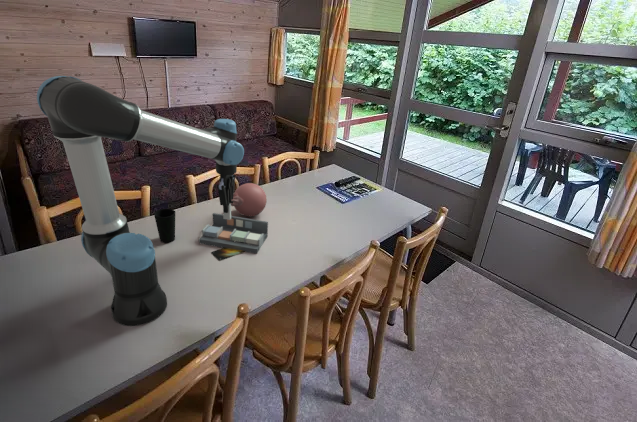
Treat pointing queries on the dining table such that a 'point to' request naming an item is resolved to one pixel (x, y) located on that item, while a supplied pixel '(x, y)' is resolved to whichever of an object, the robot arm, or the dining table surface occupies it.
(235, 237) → the key sage
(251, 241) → the key cream
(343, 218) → the dining table surface
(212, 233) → the key slate
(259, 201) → the balloon
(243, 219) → the keypad
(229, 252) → the smartphone
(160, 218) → the cup
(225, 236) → the key terracotta
